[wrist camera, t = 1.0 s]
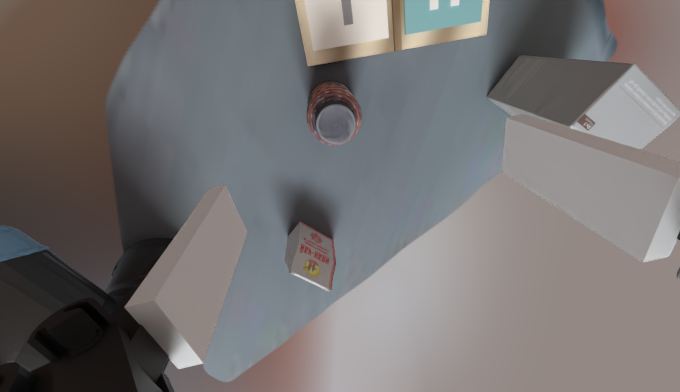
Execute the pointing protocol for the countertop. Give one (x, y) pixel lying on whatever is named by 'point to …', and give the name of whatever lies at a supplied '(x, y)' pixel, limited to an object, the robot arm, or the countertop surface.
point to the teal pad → (439, 14)
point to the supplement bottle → (333, 113)
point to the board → (395, 39)
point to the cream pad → (346, 22)
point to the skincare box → (587, 97)
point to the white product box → (311, 256)
